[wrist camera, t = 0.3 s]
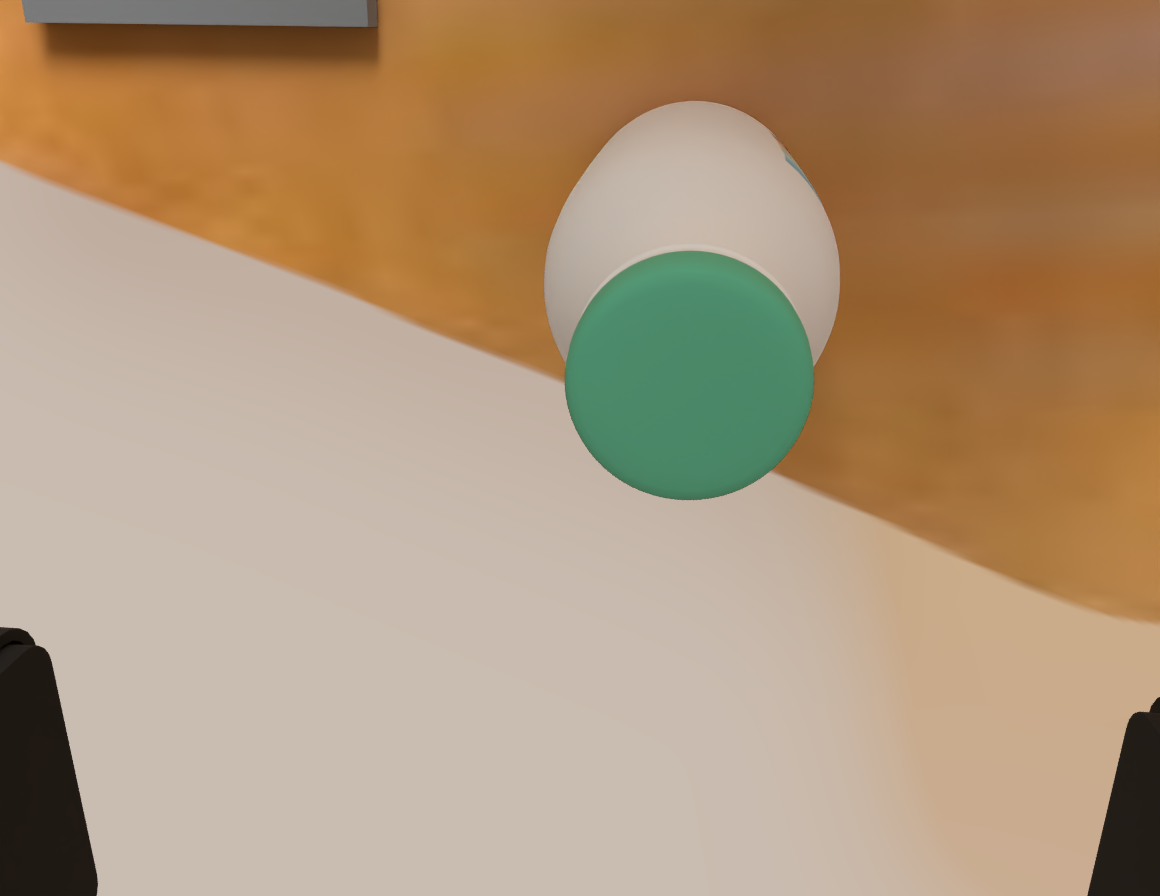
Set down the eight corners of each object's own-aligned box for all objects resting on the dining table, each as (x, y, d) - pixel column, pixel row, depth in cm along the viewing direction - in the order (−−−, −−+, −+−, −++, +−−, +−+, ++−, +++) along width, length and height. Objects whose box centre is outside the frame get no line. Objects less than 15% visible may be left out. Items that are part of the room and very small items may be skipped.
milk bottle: (553, 273, 39) (424, 496, 20) (629, 64, 36) (560, 102, 18) (748, 349, 39) (795, 636, 21) (839, 148, 36) (989, 273, 18)
